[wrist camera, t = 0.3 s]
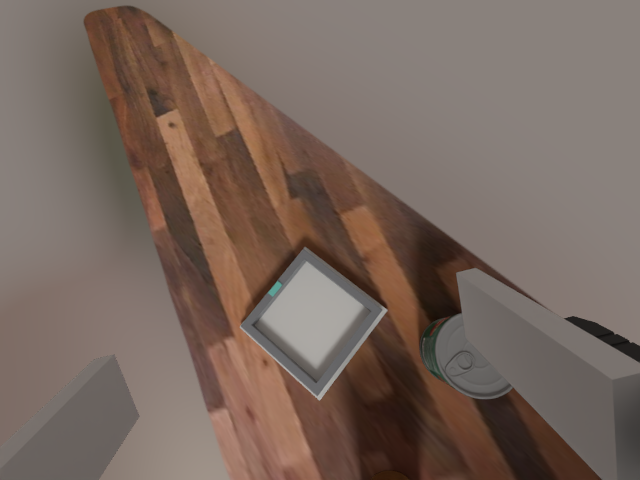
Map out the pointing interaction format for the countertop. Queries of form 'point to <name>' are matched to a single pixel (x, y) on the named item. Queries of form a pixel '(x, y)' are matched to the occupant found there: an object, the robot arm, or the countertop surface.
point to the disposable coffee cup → (389, 476)
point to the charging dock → (313, 321)
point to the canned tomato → (459, 360)
